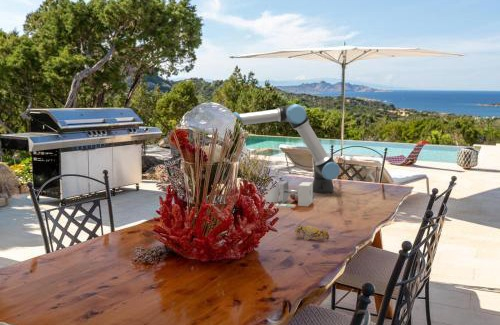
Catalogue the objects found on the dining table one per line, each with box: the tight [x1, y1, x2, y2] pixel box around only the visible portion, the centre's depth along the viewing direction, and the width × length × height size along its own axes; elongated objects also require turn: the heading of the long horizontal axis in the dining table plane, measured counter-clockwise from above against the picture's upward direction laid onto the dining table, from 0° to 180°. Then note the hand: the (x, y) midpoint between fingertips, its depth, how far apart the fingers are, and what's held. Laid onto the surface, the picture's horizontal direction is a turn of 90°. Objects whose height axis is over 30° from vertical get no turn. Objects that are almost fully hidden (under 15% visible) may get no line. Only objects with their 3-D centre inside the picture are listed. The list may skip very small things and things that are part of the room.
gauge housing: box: [274, 181, 314, 209], centre depth 273 cm, size 18×18×12 cm
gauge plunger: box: [277, 180, 298, 204], centre depth 274 cm, size 10×18×12 cm, turn 161°
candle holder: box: [265, 180, 281, 204], centre depth 281 cm, size 10×10×12 cm
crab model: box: [294, 224, 330, 243], centre depth 207 cm, size 16×13×6 cm
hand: (256, 172), depth 282 cm, fingers closed
